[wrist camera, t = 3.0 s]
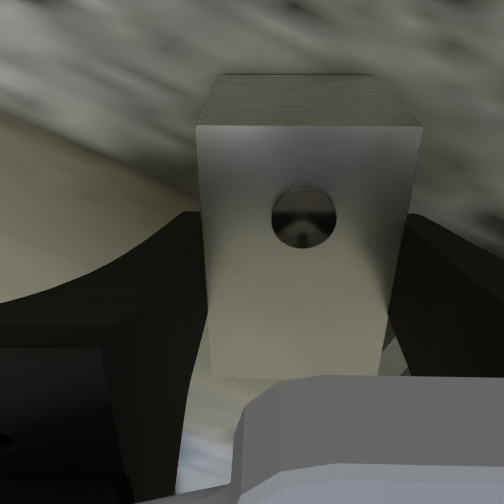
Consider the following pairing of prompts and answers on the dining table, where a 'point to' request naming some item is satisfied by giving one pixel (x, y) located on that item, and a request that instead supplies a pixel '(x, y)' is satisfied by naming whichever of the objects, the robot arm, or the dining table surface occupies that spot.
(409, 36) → the dining table surface
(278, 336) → the block
